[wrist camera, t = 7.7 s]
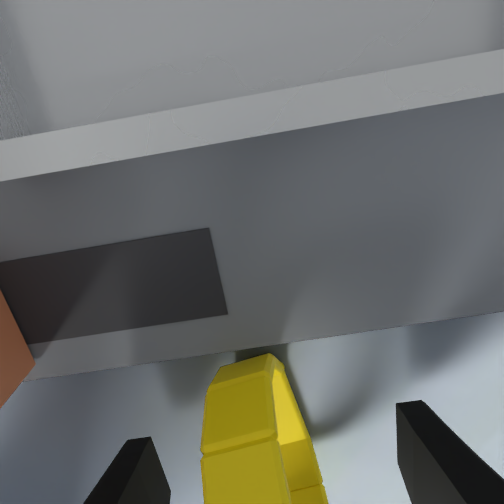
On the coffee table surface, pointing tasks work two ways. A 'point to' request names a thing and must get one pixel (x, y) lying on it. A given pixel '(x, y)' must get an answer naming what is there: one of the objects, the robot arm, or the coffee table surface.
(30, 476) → the coffee table surface
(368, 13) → the tray
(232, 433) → the watch
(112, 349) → the panel
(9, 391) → the toggle
